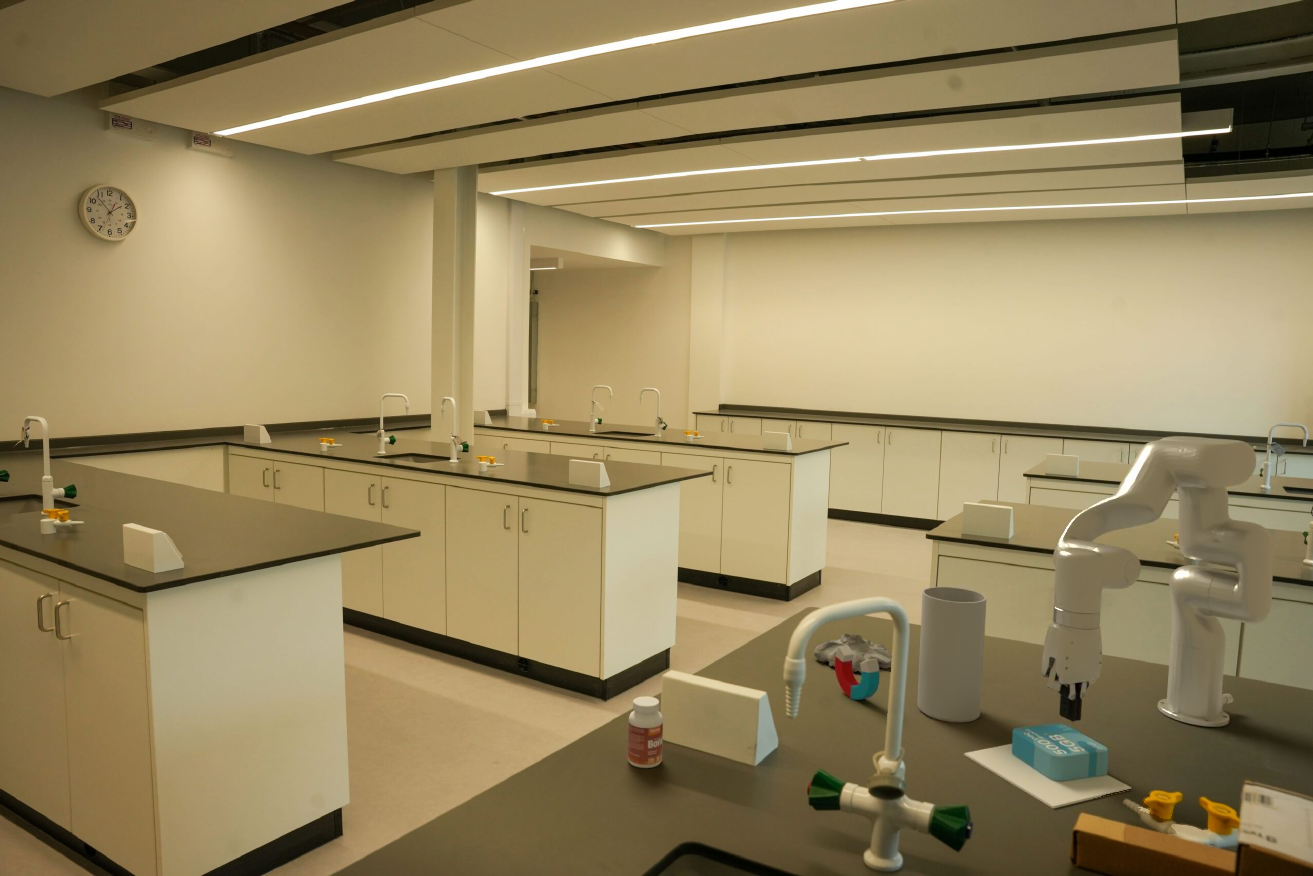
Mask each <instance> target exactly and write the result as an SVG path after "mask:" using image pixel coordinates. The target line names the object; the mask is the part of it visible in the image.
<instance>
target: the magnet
mask: <svg viewBox="0 0 1313 876" xmlns="http://www.w3.org/2000/svg"><path fill="white" fill-rule="evenodd" d="M853 656H854V653H853V652H852V650H851V649H850V647H849V646H848V645H846V646H840V647H838V649H837V652H836V656H835V667H834V669H835V675H836V679H837V683H838V684H839V686H840V688H841V690H842V691H843V692H844V694H845V695H846V696H848V697H849V698H850V699H853V700H855V701H857V700H865V699H869V698H871V697H873V696H874V695H875V694H876V693H877V690H878V689H879V685H880V680H881V679H880V677H881V676H880V667H879V665H878V661H877V659H871V660H866V661H864V662H862V663H860V666H861V672H862V673H861V672H860V673H861V679H860V682H859V681H858V680H857V679H856V677H855V674H854V672H853V671H852V660H853Z"/></svg>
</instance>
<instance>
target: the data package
mask: <svg viewBox="0 0 1313 876" xmlns="http://www.w3.org/2000/svg"><path fill="white" fill-rule="evenodd" d="M1011 740H1012V741H1011V744H1012V754H1013V755H1014V756H1016V757H1017V758H1019V759H1020V760H1022V761H1023V762H1025V763H1026V764H1028V765H1030V766H1031V767H1033V768H1034V769H1036V770H1037V771H1039V772H1040V773H1042V774H1043V775H1045V776H1046V777H1048V778H1049V779H1052V780H1055V781H1068V780H1075V779H1082V778H1090V777H1097V776H1104V775H1108V766H1109V749H1108V748H1107V747H1106V746H1105V745H1103V744H1101V743H1100V742H1097V741H1096V740H1095V739H1092V738H1090V737H1089V736H1087V735H1085V734H1083V733H1081V732H1079V731H1078V730H1076V729H1074V728H1072V727H1071V726H1069V725H1066V724H1064V723H1051V724H1041V725H1034V726H1033V725H1032V726H1024V727H1016V728H1013V730H1012V739H1011Z"/></svg>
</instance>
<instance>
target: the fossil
mask: <svg viewBox="0 0 1313 876" xmlns="http://www.w3.org/2000/svg"><path fill="white" fill-rule="evenodd" d="M846 645H848V646H849V647H850V649H851V650H852V652H853V653H854V656H853V660H852V671H853V673H860V674H862V672H861V666H860V663H862V662H864V661H866V660H871V659H877V661H878V665H879V669H884V670H885V668H886V669H889V668H891V667H892V666H891V657H893V655H892V654H891V653H890V652H889V651H888V650H887V648H886V646H885V644H882V643H880V644H875V643H873V642H872V641H871V639H869V638H866V639H863V638H862V635H860V634H848V633H844V634H841V636H840V638H839V639H831V640H830V641H825V642H823V643H821V644H818V645H816V647H815V649H814V651H813V655H814V657H815V658H816V659H817V660H818V661H819V662H821V663H822V662H823V664H826V663H827V662H828V666H829V667H831V668H833V667H834V668H835V656H836V652H837V649H838V647H840V646H846ZM832 666H833V667H832ZM890 666H891V667H890ZM857 671H859V672H857Z"/></svg>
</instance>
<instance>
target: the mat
mask: <svg viewBox="0 0 1313 876" xmlns="http://www.w3.org/2000/svg"><path fill="white" fill-rule="evenodd" d="M963 756H965V757H967V758H968V759H970V760H972V761H973V762H974V763H976V764H977V765H980V766H981V767H983V768H984V769H986V770H988V771H990V772H991V773H993V774H994V775H996V776H998V777H1000V778H1001V779H1003V780H1005V781H1006V782H1008V783H1010V784H1011V785H1013V786H1014V787H1016V788H1017V789H1019V790H1021V791H1023V792H1025V793H1026V794H1028V795H1030V796H1031V797H1033V798H1034V799H1036V800H1038V801H1040V802H1041V803H1043V804H1044V805H1046V806H1048V807H1049V808H1051V809H1053V810H1054V809H1057V808H1062V807H1066V806H1069V805H1073V804H1078V803H1082V802H1086V801H1089V800H1094V798H1095V799H1099V798H1102V797H1101V796H1102V795H1106V794H1110V793H1113V792H1119V791H1123V790H1127V789H1131V790H1132V786H1129V785H1128V784H1126V783H1124V782H1122V781H1119V780H1118V779H1116V778H1115V777H1112V776H1111V775H1109V774H1106V775H1104V776H1097V777H1090V778H1082V779H1075V780H1068V781H1055V780H1052V779H1049V778H1048V777H1046V776H1045V775H1043V774H1042V773H1040V772H1039V771H1037V770H1036V769H1034V768H1033V767H1031V766H1030V765H1028V764H1026V763H1025V762H1023V761H1022V760H1020V759H1019V758H1017V757H1016V756H1014V755H1013V754H1012V743H1009V744H1003V745H999V746H994V747H989V748H984V749H979V750H974V751H968V752H964V754H963ZM1127 791H1128V790H1127ZM1123 792H1124V791H1123ZM1119 793H1120V792H1119ZM1098 797H1099V798H1098Z"/></svg>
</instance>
